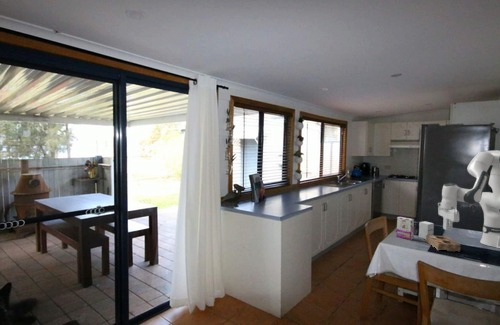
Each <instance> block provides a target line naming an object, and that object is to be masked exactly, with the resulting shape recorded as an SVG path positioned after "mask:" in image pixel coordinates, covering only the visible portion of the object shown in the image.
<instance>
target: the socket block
mask: <svg viewBox="0 0 500 325" xmlns="http://www.w3.org/2000/svg"><path fill="white" fill-rule="evenodd" d="M425 242H426V243H427V244H428V245H430V246H431V245H432V246H431V247H433V248H434V247H435V248H436V251H439V250H447V251H446V252H455V251H458V253H460V252H461V244H460V243H458V242H457V241H454V240H453V239H451V238H450V237H449V236H447V235H433V236H432V235H426V239H425ZM435 248H434V249H435Z"/></svg>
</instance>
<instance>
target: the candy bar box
mask: <svg viewBox="0 0 500 325" xmlns="http://www.w3.org/2000/svg"><path fill="white" fill-rule="evenodd" d="M414 224H415V219H414V218H409V217H404V216H397V217H396V238H400V239H405V240H409V241H412V240H414V232H415V231H414V230H415V228H414Z"/></svg>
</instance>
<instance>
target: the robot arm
mask: <svg viewBox="0 0 500 325" xmlns="http://www.w3.org/2000/svg"><path fill="white" fill-rule="evenodd" d="M491 166H492V167H491ZM490 167H491V170H490V175H489V173H488V170H489V168H490ZM466 170H467V172H468V173H469V175H471V177H474V178H475V179H476V180H475V182H474V185H473V187H472V188H470V189H469V188H463V187H460V186H458V184H456V183H451V182H450V183H444V184H443V186H442V189H441V202H438V203H437V206H438V207H437V210H438V212H437V214H438V216H441V217H442V218H443V219H444V217H446V218H447V219H449V221H450V222H449V223H448V225H449V226H452V223H458V222H460V212H459V210H458V209H457V207H458V206H457V205H458V202H462V203H466V204H469V205H472V206H473V205H476V204H479V205H480V207H481V209H482V212H483V224H482V236H481V239H480V240H479V242H480V243H481V244H483V245H485V246H488V247H493V248H496V249H500V150H497V149H496V150H480V151H479V152H477V154H475V156H474V157H473V158H472V159H471V161H470V162H469V164H467V169H466ZM487 182H488V187H490V188H491V190H492V192H491V191H485V192H484V190H485V187H486V185H487ZM452 227H453V226H452Z"/></svg>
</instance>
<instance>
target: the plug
mask: <svg viewBox="0 0 500 325" xmlns="http://www.w3.org/2000/svg"><path fill="white" fill-rule="evenodd" d="M442 221H443V223H442V229H443V230H445V231H453V223H454V222H453V223H452V226H449V225H448V223H449V222H450V221H449V219H447V218H446V217H444V219H443V220H442Z"/></svg>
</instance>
